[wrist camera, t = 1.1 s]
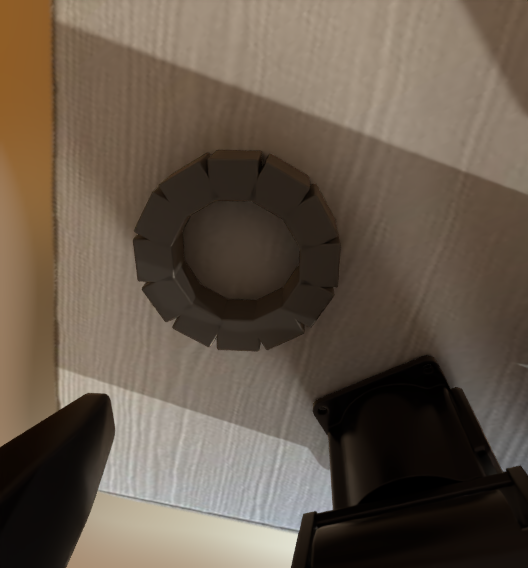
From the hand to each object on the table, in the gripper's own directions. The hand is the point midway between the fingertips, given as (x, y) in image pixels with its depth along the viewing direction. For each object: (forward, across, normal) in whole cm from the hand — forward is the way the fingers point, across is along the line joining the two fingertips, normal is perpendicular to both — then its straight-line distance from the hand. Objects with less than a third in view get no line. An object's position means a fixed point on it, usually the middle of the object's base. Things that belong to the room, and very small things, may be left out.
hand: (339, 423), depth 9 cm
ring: (+13, +3, +1) cm, 13 cm away
